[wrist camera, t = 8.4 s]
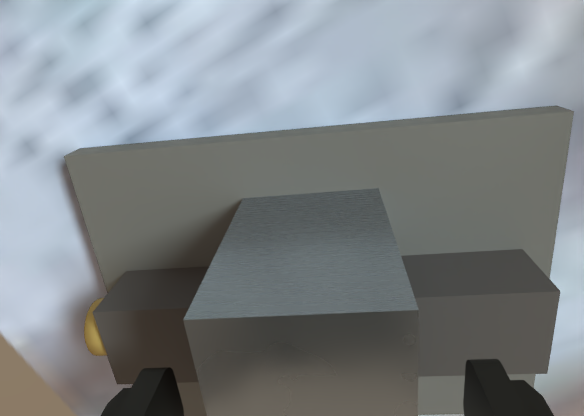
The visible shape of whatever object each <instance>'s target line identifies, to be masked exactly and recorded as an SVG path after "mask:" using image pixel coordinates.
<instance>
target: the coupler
mask: <svg viewBox="0 0 584 416" xmlns="http://www.w3.org/2000/svg"><path fill="white" fill-rule="evenodd" d="M573 114H574V111H571V110H568V109H565V108H562V107H559V106H547V107H536V108H525V109H514V110H503V111H492V112H481V113H469V114H458V115H447V116H436V117H425V118H414V119H403V120H391V121H380V122H369V123H358V124H347V125H336V126H325V127H313V128H302V129H291V130H280V131H269V132H258V133H247V134H235V135H224V136H213V137H202V138H191V139H180V140H169V141H157V142H146V143H135V144H124V145H113V146H102V147H91V148H80V149H78V150H76V151H74V152H72V153H69V154H67V155H65V156H64V158H65V161H66V165H67V168H68V171H69V174H70V177H71V180H72V183H73V186H74V189H75V193H76V196H77V199H78V202H79V205H80V208H81V211H82V214H83V218H84V221H85V224H86V227H87V230H88V233H89V236H90V239H91V243H92V246H93V249H94V252H95V255H96V258H97V261H98V264H99V267H100V271H101V274H102V277H103V280H104V283H105V286H106V289H107V292H108V294H107V295H106V296H105V298H99V299H97V300H96V301H95V302H94V303H93V304H92V305H91V307H90V308H89V311H88V313H87V316H86V320H85V326H84V336H85V342H86V345H87V348H88V350H89V351H90V352H91V353H92V354H93V355H96V356H103V355H107V356H108V359H109V362H110V365H111V368H112V371H113V374H114V377H115V379H116V382H117V384H134V382H135V380H136V379H137V377H138V375H139V373H140V372H141V370H142V369H144V368H163V367H170V368H172V369H173V372H174V375H175V378H176V382H177V386H178V389H179V393H180V397H181V400H182V404H183V409H184V416H207V414H206V410H205V406H204V402H203V398H202V394H201V390H200V386H199V382H198V378H197V373H196V369H195V365H194V361H193V357H192V353H191V349H190V345H189V341H188V337H187V333H186V329H185V325H184V321H183V319H184V317H185V315H186V313H187V311H188V309H189V307H190V305H191V303H192V301H193V299H194V297H195V295H196V293H197V291H198V289H199V287H200V285H201V283H202V281H203V279H204V277H205V275H206V272H207V270H208V268H209V266H210V264H211V262H212V260H213V258H214V256H215V254H216V252H217V250H218V248H219V246H220V244H221V242H222V240H223V238H224V236H225V234H226V232H227V230H228V228H229V226H230V224H231V222H232V220H233V217H234V215H235V213H236V211H237V209H238V207H239V205H240V203H241V201H242V199H243V198H252V197H266V196H280V195H293V194H307V193H320V192H334V191H348V190H361V189H375V188H379V191H380V194H381V197H382V200H383V203H384V206H385V209H386V212H387V215H388V218H389V221H390V224H391V227H392V230H393V233H394V236H395V239H396V242H397V245H398V248H399V251H400V255H401V258H402V261H403V264H404V267H405V270H406V273H407V276H408V279H409V282H410V285H411V288H412V291H413V294H414V297H415V300H416V303H417V306H418V309H419V346H418V415H430V414H464V409H463V398H464V382H465V367H466V361H467V360H472V359H498V360H499V361H500V362H501V364H502V365H503V367H504V369H505V371H506V373H507V375H508V377H509V379H510V380H525V381H526V382H527V383H528V384H529V385H530V386H531V387H533V388H534V381H535V374H546V373H547V371H548V365H549V359H550V353H551V346H552V340H553V334H554V327H555V321H556V315H557V309H558V302H559V296H560V290H559V289H558V288H557V287H556V286H555V285H554V284H553V283H552V281H551V280H550V279H549V278H550V271H551V264H552V258H553V251H554V244H555V237H556V230H557V223H558V216H559V210H560V203H561V196H562V189H563V182H564V175H565V168H566V162H567V155H568V148H569V141H570V134H571V127H572V120H573Z"/></svg>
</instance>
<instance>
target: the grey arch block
mask: <svg viewBox="0 0 584 416" xmlns="http://www.w3.org/2000/svg"><path fill="white" fill-rule="evenodd" d="M183 321H184V325H185V329H186V333H187V337H188V341H189V345H190V349H191V353H192V357H193V361H194V365H195V369H196V373H197V378H198V382H199V386H200V390H201V394H202V398H203V402H204V406H205V410H206V414H207V416H418V346H419V309H418V306H417V303H416V300H415V297H414V294H413V291H412V288H411V285H410V282H409V279H408V276H407V273H406V270H405V267H404V264H403V261H402V258H401V255H400V251H399V248H398V245H397V242H396V239H395V236H394V233H393V230H392V227H391V224H390V221H389V218H388V215H387V212H386V209H385V206H384V203H383V200H382V197H381V194H380V191H379V188H375V189H361V190H348V191H334V192H320V193H307V194H293V195H280V196H266V197H252V198H243V199H242V201H241V203H240V205H239V207H238V209H237V211H236V213H235V215H234V217H233V220H232V222H231V224H230V226H229V228H228V230H227V232H226V234H225V236H224V238H223V240H222V242H221V244H220V246H219V248H218V250H217V252H216V254H215V256H214V258H213V260H212V262H211V264H210V266H209V268H208V270H207V272H206V275H205V277H204V279H203V281H202V283H201V285H200V287H199V289H198V291H197V293H196V295H195V297H194V299H193V301H192V303H191V305H190V307H189V309H188V311H187V313H186V315H185V317H184V319H183Z"/></svg>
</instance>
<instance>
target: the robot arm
mask: <svg viewBox="0 0 584 416" xmlns="http://www.w3.org/2000/svg"><path fill="white" fill-rule="evenodd" d="M463 409H464V416H554V415H553V413H552V412H551V410H550V408H549V406H548V405H547V403H546V401H545V400H544V398H543V396H542V395H541V394H539V393H538V392H537V391H536V390H535V389H534V388H533V387H531V386H530V385H529V384H528V383H527V382H526V381H525V380H510V379H509V377H508V375H507V373H506V371H505V369H504V367H503V365H502V364H501V362H500V361H499V360H498V359H472V360H467V361H466V367H465V382H464V398H463ZM101 416H184V409H183V404H182V400H181V397H180V393H179V389H178V386H177V382H176V378H175V375H174V372H173V369H172V368H170V367H163V368H144V369H142V370H141V372H140V373H139V375H138V377H137V379H136V380H135V382H134V384H133V386H132V388H123V389H122V390H121V391H120V392H119V393H118V394H117V395H116V396H115V397H114V398H113V399H112V400H111V401H110V402H109V403H108V404H107V406H106V407H105V409H104V411H103V413H102V414H101Z"/></svg>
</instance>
